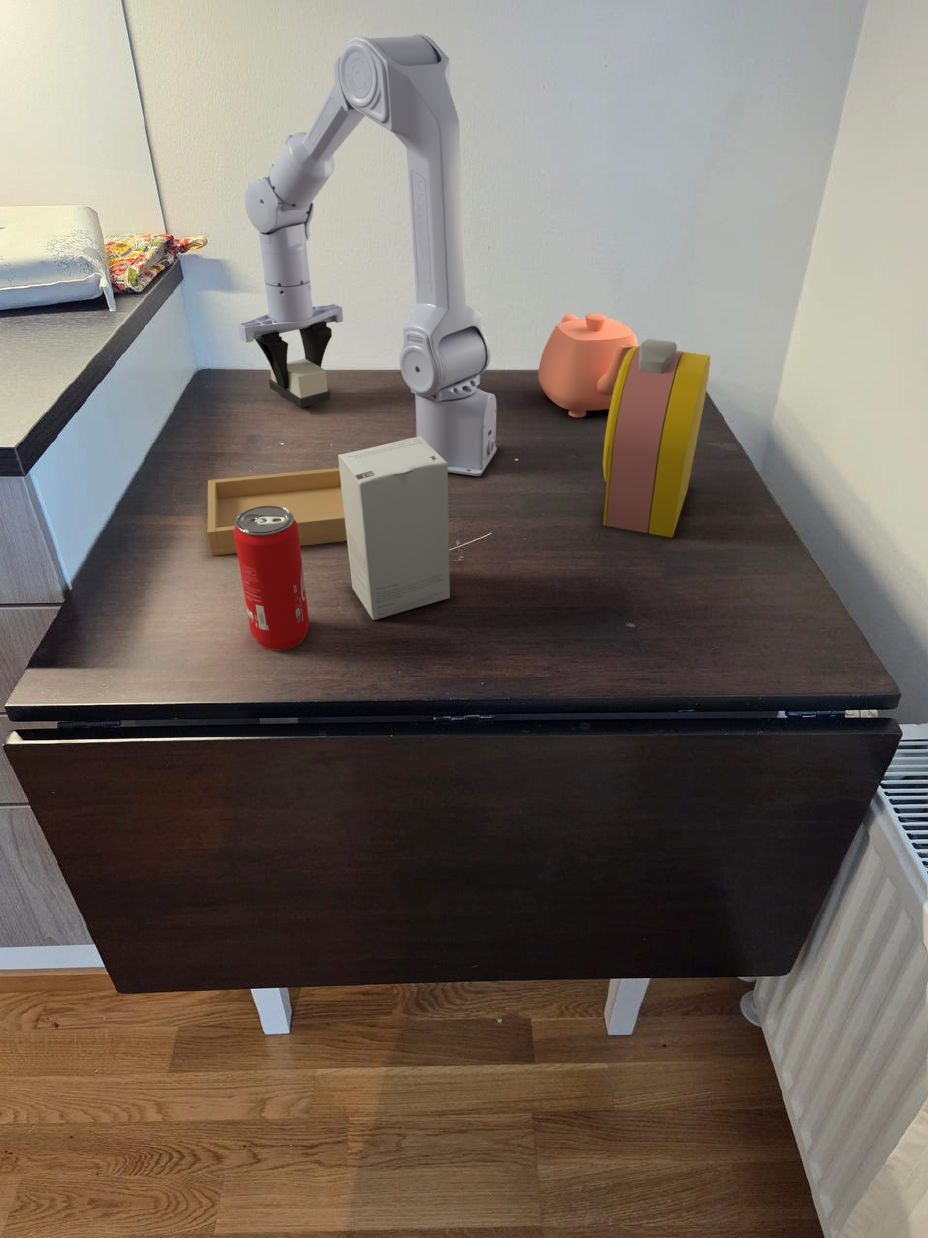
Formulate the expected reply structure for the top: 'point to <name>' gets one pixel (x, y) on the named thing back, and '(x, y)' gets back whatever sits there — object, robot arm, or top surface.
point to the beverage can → (272, 576)
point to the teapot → (584, 362)
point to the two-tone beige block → (303, 383)
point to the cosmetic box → (396, 525)
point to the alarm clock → (652, 436)
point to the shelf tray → (299, 492)
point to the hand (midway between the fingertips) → (298, 382)
